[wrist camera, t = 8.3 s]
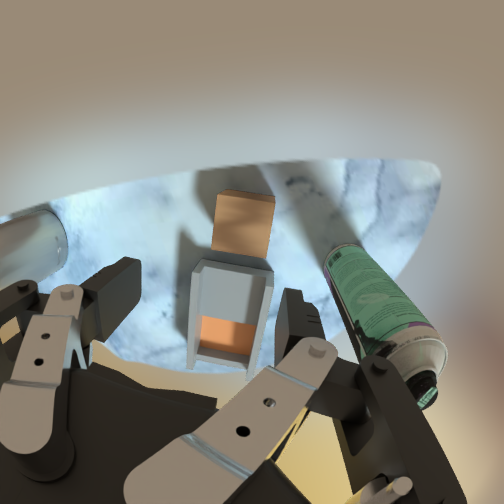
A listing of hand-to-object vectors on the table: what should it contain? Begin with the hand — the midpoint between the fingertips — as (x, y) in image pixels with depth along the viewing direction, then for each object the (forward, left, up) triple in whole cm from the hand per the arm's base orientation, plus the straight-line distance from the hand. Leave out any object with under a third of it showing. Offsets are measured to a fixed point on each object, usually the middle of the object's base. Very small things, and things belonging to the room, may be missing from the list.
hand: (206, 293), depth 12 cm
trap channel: (0, -12, -18) cm, 21 cm away
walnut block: (0, -3, -15) cm, 15 cm away
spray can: (+12, -4, -18) cm, 22 cm away
